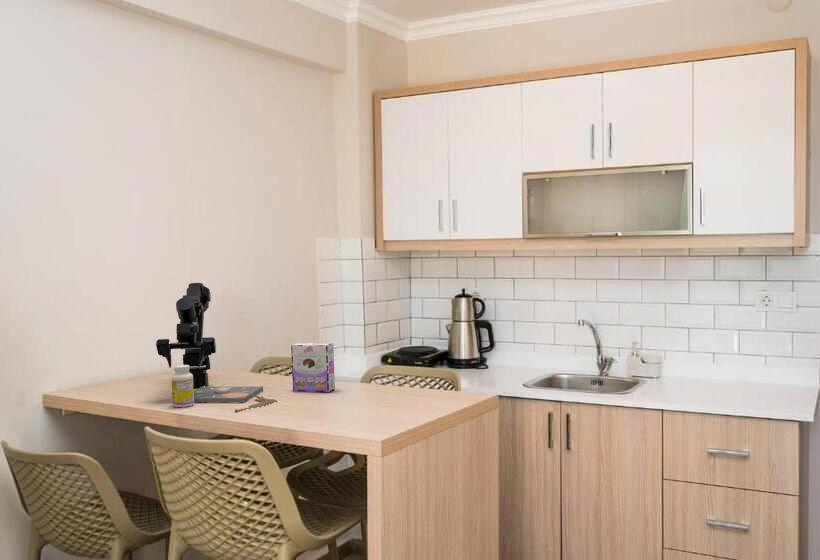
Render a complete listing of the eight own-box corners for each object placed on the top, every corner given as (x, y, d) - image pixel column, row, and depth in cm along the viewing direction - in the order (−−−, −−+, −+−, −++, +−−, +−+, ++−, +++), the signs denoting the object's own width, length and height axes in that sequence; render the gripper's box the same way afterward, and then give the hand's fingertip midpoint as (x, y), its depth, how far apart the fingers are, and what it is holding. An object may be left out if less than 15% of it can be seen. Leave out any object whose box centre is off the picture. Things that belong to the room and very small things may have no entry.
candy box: (335, 390, 281) (334, 342, 280) (328, 393, 275) (327, 345, 274) (299, 388, 285) (298, 342, 284) (291, 391, 280) (290, 344, 279)
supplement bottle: (175, 404, 262) (173, 364, 261) (195, 403, 263) (194, 364, 262) (170, 408, 255) (169, 367, 255) (192, 407, 256) (190, 367, 255)
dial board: (178, 402, 264) (178, 394, 264) (202, 390, 285) (202, 383, 285) (244, 403, 261) (243, 394, 261) (263, 390, 282) (262, 383, 282)
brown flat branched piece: (281, 402, 266) (281, 396, 266) (262, 417, 246) (262, 410, 246) (254, 400, 268) (254, 393, 267) (233, 414, 247) (233, 407, 247)
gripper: (155, 315, 267) (151, 352, 257) (213, 313, 270) (211, 350, 259) (160, 336, 275) (156, 373, 265) (217, 334, 278) (214, 370, 267)
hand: (184, 366), depth 264 cm, fingers open, 9 cm apart
